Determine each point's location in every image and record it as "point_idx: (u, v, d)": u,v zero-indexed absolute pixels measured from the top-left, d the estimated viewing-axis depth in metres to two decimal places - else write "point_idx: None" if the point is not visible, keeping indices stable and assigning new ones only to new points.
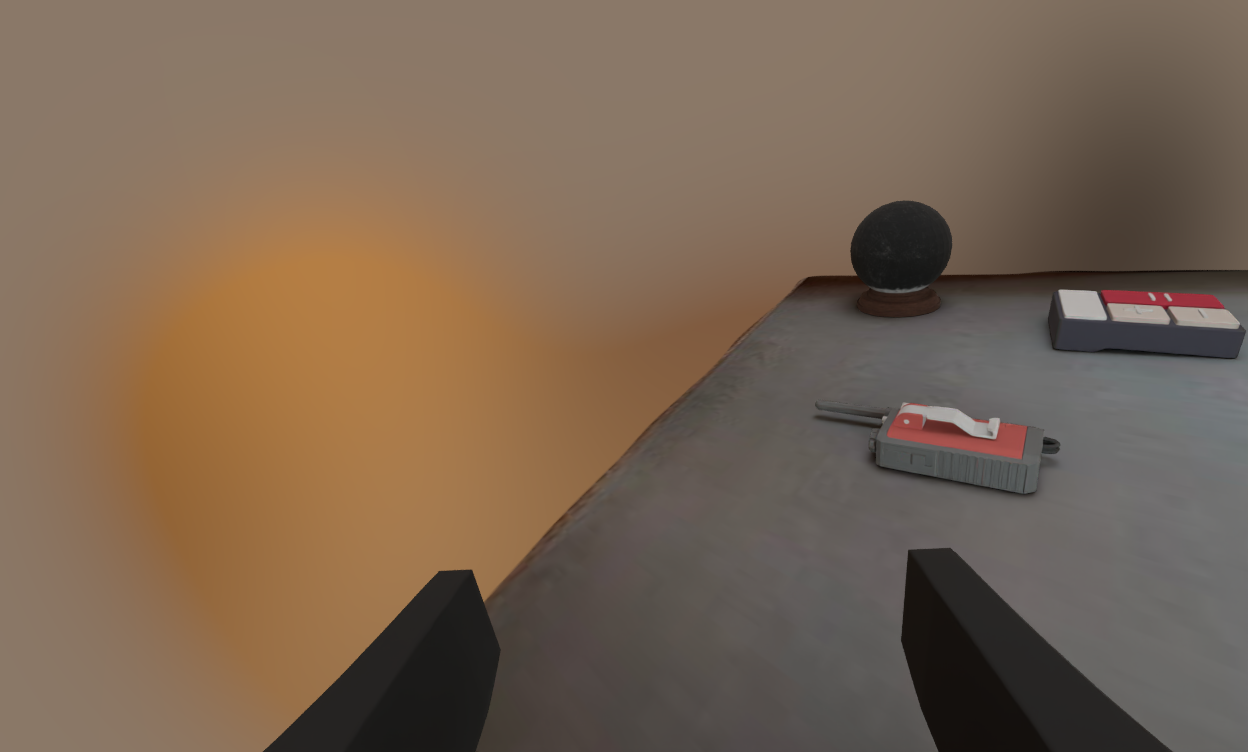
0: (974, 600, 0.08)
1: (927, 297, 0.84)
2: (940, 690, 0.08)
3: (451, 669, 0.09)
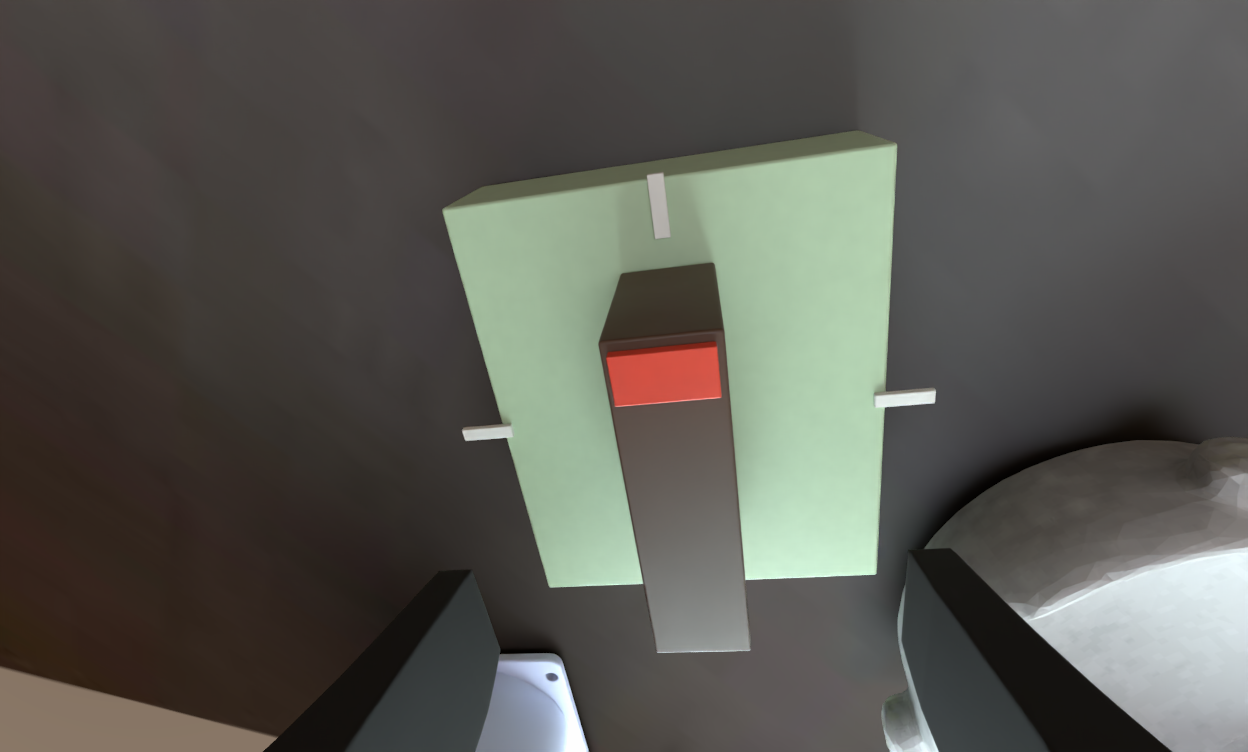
0: (974, 600, 0.08)
1: None
2: (940, 690, 0.08)
3: (452, 669, 0.09)
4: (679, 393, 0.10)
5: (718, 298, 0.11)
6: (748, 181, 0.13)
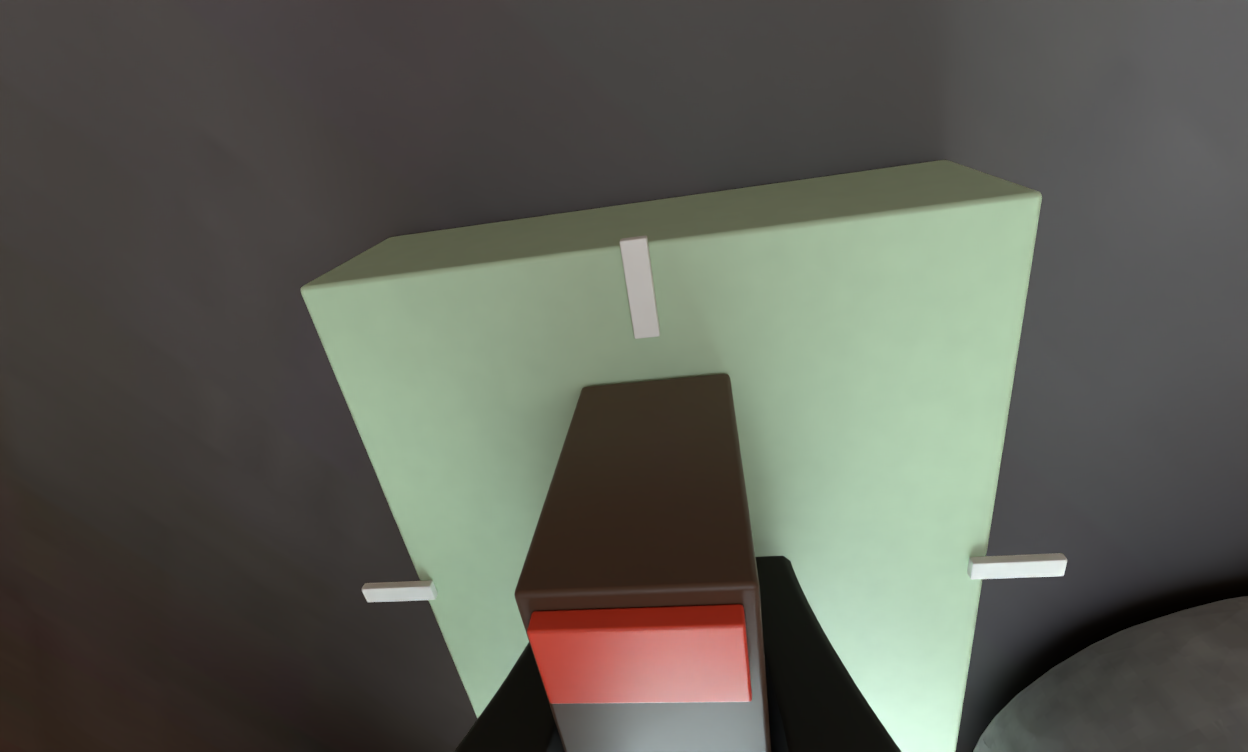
0: (780, 606, 0.08)
1: None
2: None
3: None
4: (670, 692, 0.05)
5: (741, 474, 0.06)
6: (786, 251, 0.08)
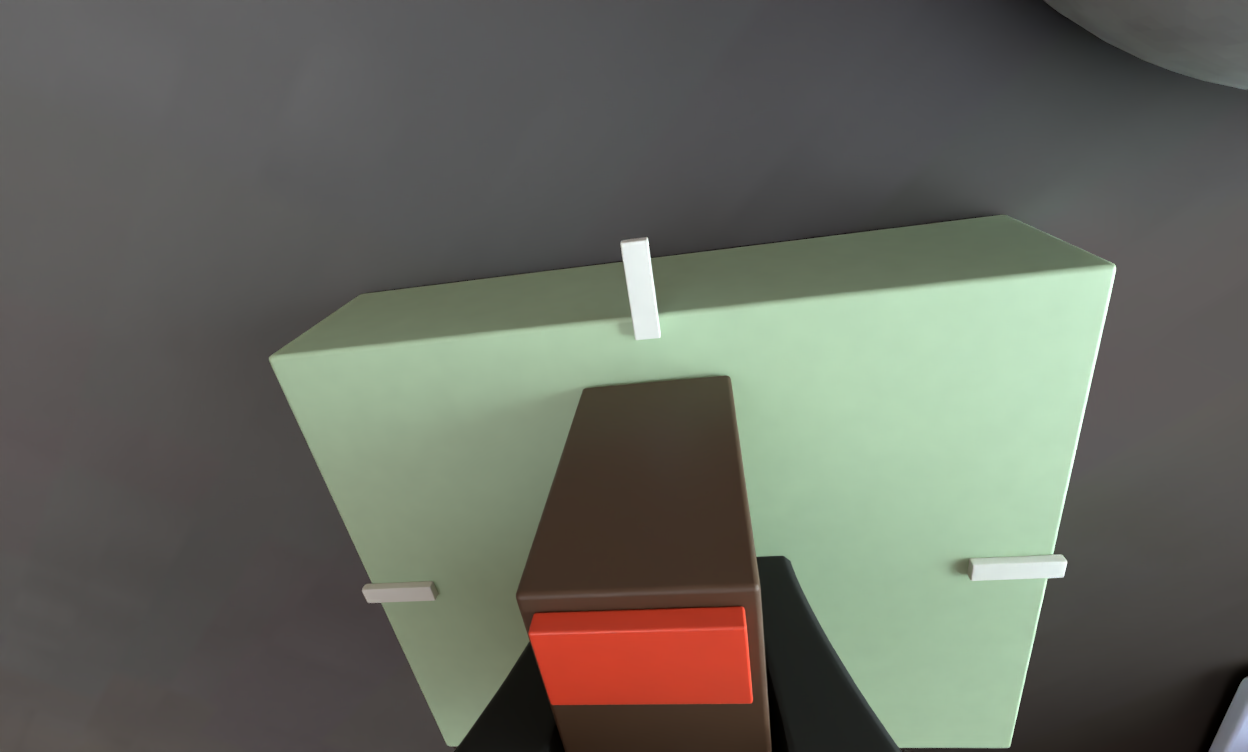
0: (781, 606, 0.08)
1: None
2: None
3: None
4: (671, 694, 0.05)
5: (742, 476, 0.06)
6: (354, 509, 0.11)
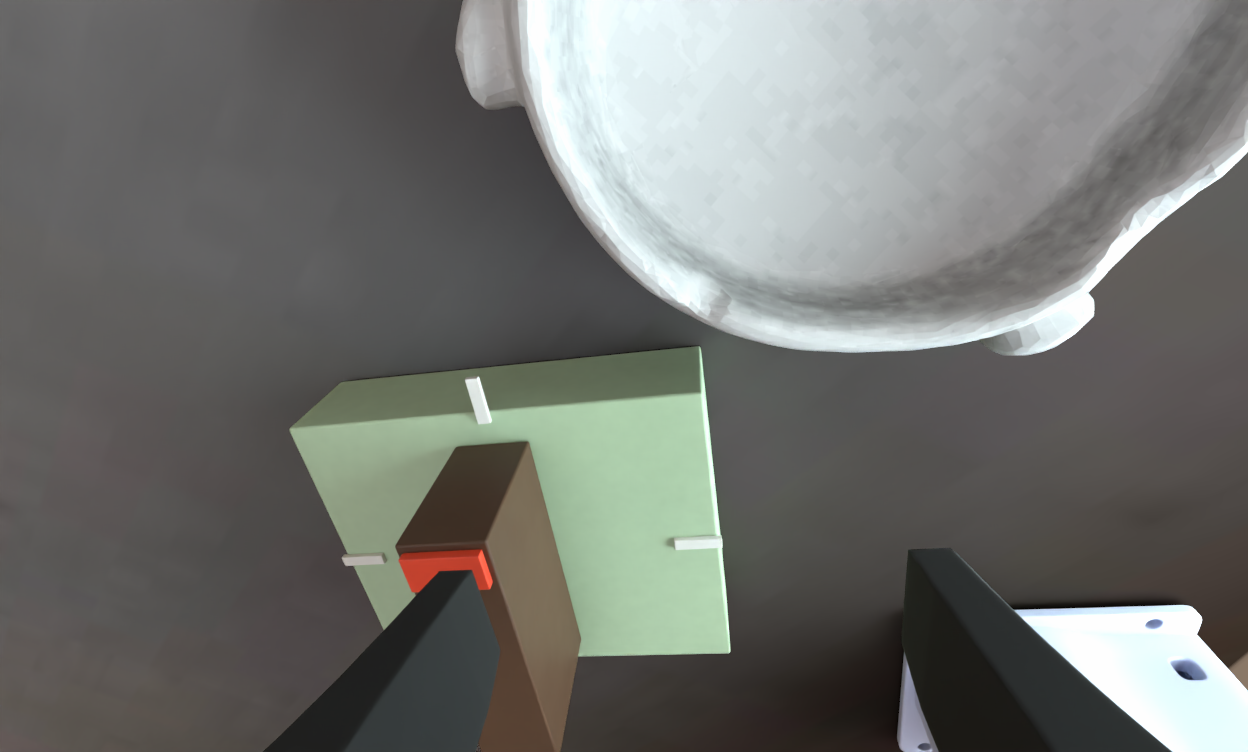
0: (974, 600, 0.08)
1: None
2: (940, 691, 0.08)
3: (451, 669, 0.09)
4: None
5: (504, 496, 0.14)
6: (336, 510, 0.18)
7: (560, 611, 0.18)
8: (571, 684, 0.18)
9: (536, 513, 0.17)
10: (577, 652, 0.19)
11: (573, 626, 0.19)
